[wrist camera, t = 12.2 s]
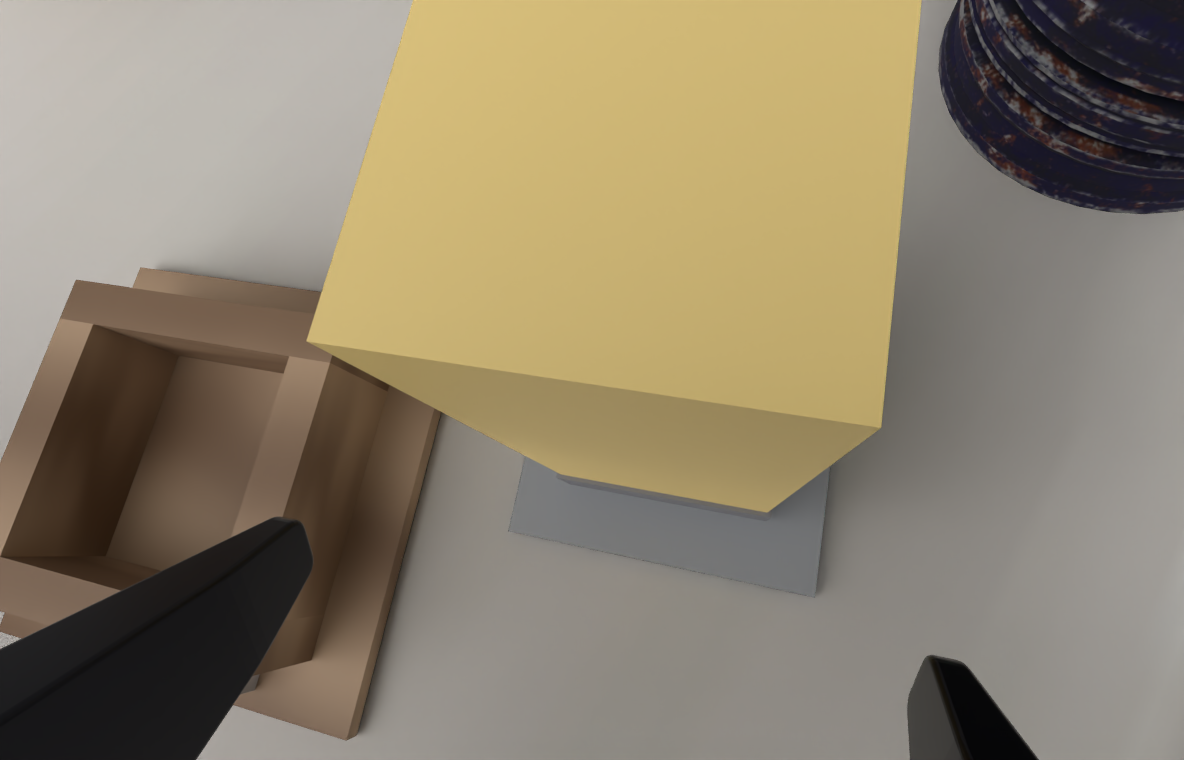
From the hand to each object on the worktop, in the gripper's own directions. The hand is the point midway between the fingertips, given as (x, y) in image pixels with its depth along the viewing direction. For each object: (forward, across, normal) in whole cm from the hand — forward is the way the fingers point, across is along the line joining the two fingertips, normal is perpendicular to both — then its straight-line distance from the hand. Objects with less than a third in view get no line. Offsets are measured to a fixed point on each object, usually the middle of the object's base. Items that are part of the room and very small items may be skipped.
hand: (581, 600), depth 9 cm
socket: (+6, +13, +5) cm, 15 cm away
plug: (+9, 0, +2) cm, 9 cm away
